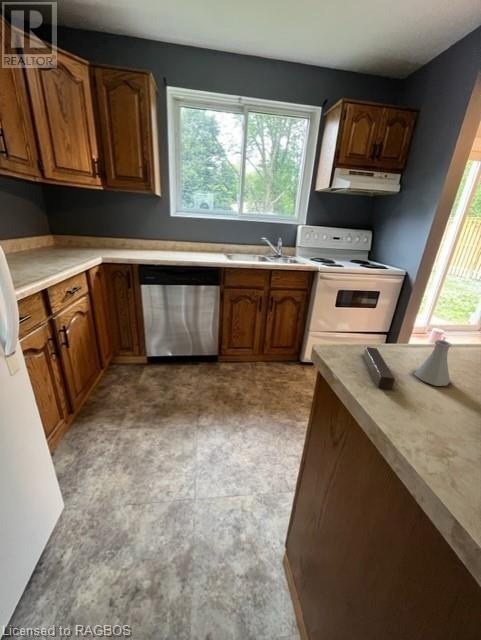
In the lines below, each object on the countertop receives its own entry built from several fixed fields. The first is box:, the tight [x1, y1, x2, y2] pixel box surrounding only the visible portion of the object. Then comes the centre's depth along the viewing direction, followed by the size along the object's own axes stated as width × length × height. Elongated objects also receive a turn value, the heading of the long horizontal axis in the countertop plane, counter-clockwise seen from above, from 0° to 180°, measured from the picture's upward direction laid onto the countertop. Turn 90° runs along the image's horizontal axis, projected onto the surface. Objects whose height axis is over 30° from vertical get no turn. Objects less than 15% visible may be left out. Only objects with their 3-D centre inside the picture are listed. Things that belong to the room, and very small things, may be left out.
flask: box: [414, 339, 453, 387], centre depth 66 cm, size 7×7×10 cm
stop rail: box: [363, 346, 396, 390], centre depth 70 cm, size 3×16×3 cm, turn 168°
